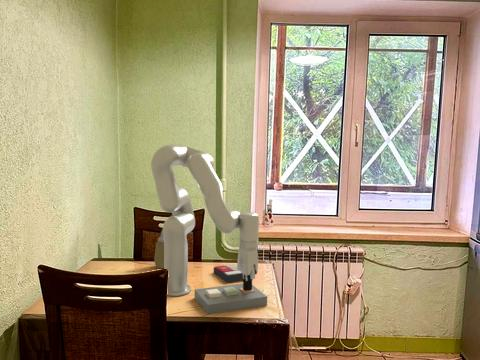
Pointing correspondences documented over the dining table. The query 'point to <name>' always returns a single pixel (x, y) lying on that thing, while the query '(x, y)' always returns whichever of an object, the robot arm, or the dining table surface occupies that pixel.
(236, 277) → the button control box
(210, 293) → the key ivory
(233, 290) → the key sage
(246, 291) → the key terracotta
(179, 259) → the robot arm
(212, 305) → the keypad
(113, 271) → the dining table surface
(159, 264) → the squeeze bottle
